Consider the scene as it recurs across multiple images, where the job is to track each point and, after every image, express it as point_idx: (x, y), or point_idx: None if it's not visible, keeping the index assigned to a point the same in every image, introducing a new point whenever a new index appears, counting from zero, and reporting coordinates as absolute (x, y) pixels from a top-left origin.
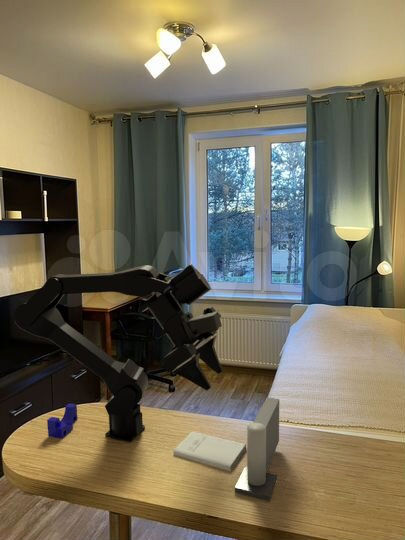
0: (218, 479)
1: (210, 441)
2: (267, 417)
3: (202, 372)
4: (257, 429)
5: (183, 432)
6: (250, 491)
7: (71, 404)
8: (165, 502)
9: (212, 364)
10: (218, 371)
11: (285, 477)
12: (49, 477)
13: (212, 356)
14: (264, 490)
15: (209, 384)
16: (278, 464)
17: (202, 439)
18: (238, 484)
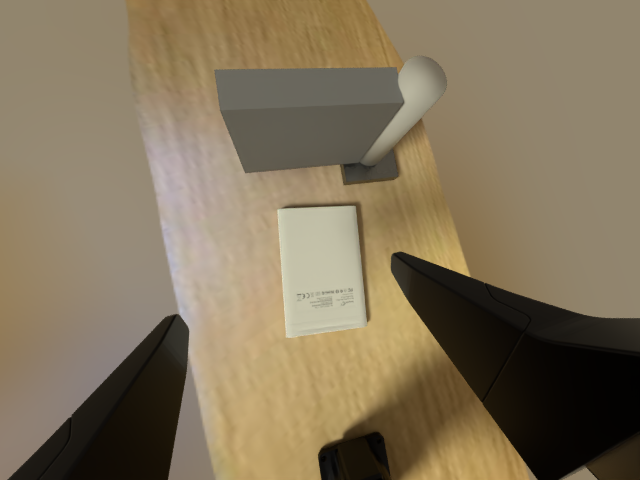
0: (381, 215)
1: (305, 278)
2: (348, 75)
3: (474, 289)
4: (430, 74)
5: (289, 358)
6: (393, 152)
7: None
8: (460, 258)
9: (168, 391)
10: (182, 333)
11: None
12: (520, 463)
13: (121, 438)
14: None
15: (403, 257)
16: None
17: (306, 297)
18: (390, 174)
